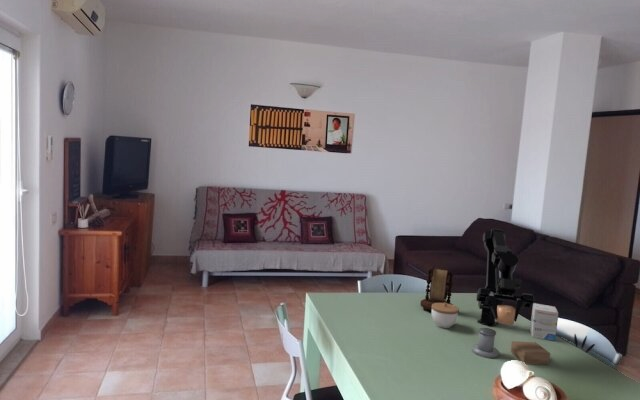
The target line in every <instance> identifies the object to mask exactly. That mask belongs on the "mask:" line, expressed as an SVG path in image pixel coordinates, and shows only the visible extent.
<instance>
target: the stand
mask: <svg viewBox="0 0 640 400" xmlns="http://www.w3.org/2000/svg"><path fill="white" fill-rule="evenodd" d="M510 353H511V354H512V355H513V356H514V357H516V358H517V359H518V360H519V361H520V362H521V361H523V362H525V363H527V365H528V364H529V365H530V364H531V365H532V364H533V365H549V364H550V355H551V352H549V351H548V350H547V349H546V348H545V347H542V346H541V345H540V344H539V343H538V342H536V341H516V340H515V341H514V340H512V341H511V346H510ZM523 362H522V363H523Z"/></svg>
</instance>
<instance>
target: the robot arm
mask: <svg viewBox="0 0 640 400" xmlns="http://www.w3.org/2000/svg"><path fill="white" fill-rule="evenodd" d="M482 242H483V248H484V249H485V251H486V252H487V257H486V259H487V260H486V280H485V282H486V283H485V287H479V288H478V290H477V293H476V301H477V302H478V305H477V307H478V309H480V310H481V314H480V319H478V320H477V321H476V322H477V323H480V324H482V325H486V326H489V327H494V326H495V325H498V324H499V322H497V321H496V319H497V305H504V301H507V302H515V304H514V306H513V307H514V308H515V309H516V311H515V319H514V323H515V322H517V320H518V318H519V314H520V311H521V310H524V308H525V309H526V308H527V309H531V308H533V303H536V301H535V300H536V299H535V298H536V297H535V296H534V295H533V294H532V293H526V292H522V293H521V294H520V296H517V295H515V294H516V290H517V289H521V288H522V287H523V283H522V281H523V280H522V278H515V279H513V273H514V272H515V270H516V268H517V265H518V263H519V258H518V257H517V255H515V254H514V253H513V250H512V249H511V248H509V247H508V246H507V243H506V233H505V230H503V229H500V228H499V229H498V228H491V229H490V230H487V231H484V233H483V234H482Z"/></svg>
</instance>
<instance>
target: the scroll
mask: <svg viewBox="0 0 640 400" xmlns="http://www.w3.org/2000/svg"><path fill="white" fill-rule="evenodd" d="M453 276H454V272H452V271H450V267H447V270H446V269H445V270H444V269H438V268H435V264H433V265H432V266H431V268H428V269H427V278H426V289H425V294H426V295H425V296H424V297H425V298H423V299H421V300H420V307H422V310H423V311H426V310H428V311H432V304H434V303H447V304H451V305H454V304H452V303H451V296H452V288H453V281H454V280H453ZM447 281H448V282H447ZM446 286H447V287H446Z"/></svg>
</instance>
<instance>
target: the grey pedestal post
mask: <svg viewBox="0 0 640 400" xmlns="http://www.w3.org/2000/svg"><path fill="white" fill-rule="evenodd" d="M496 336H497V331H496V330H494V329H492V328H490V327H479V328H478V342H477V343H474V344H473V345H472V346H471V351H472V353H474V354H475V355H477V356H479V357H482V358H487V359H495V358H498V357H499V353H500V351H499V349H497V347H494V346H495V338H496Z"/></svg>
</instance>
